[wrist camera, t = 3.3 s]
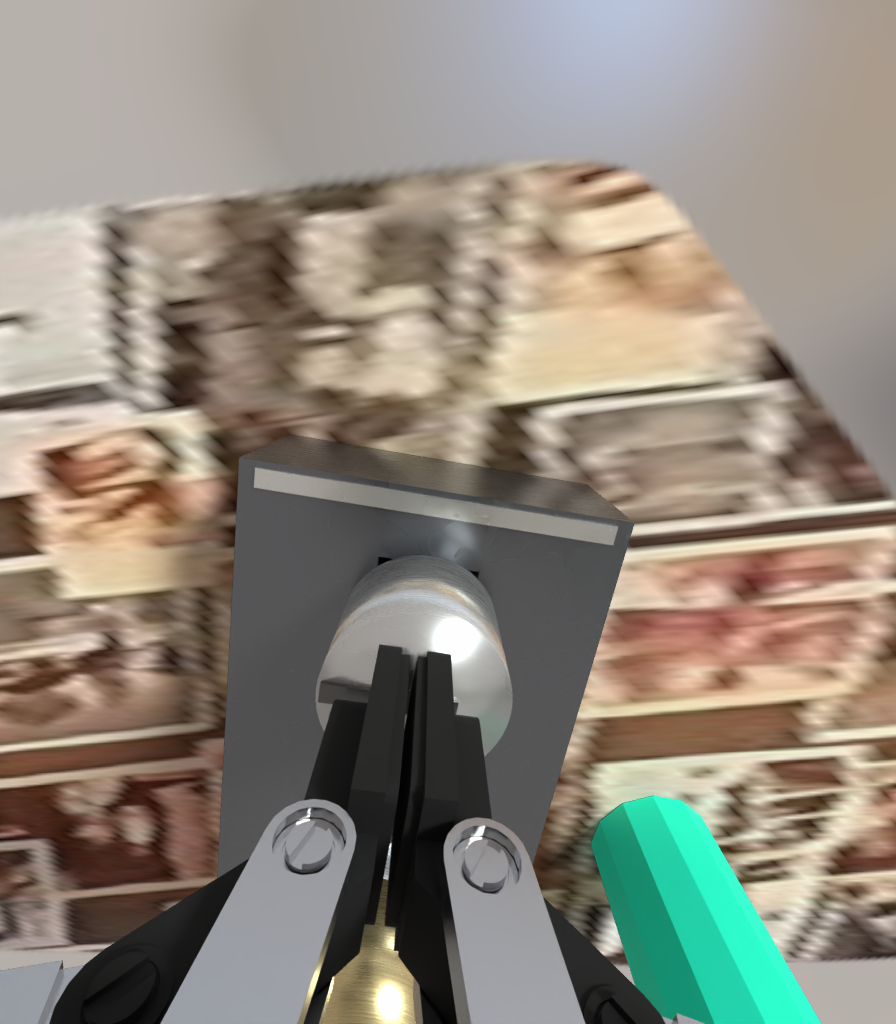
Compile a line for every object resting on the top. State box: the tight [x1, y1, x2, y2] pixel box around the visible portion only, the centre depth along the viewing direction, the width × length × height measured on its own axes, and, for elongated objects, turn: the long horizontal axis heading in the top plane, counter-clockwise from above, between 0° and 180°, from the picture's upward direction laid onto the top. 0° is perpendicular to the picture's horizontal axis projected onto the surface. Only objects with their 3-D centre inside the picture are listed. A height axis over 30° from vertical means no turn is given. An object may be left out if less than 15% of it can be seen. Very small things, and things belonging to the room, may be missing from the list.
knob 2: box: [322, 829, 415, 1024], centre depth 16 cm, size 5×5×8 cm
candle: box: [591, 796, 821, 1024], centre depth 20 cm, size 6×6×12 cm
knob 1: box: [315, 555, 513, 756], centre depth 15 cm, size 5×5×8 cm
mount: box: [217, 434, 634, 878], centre depth 19 cm, size 12×18×5 cm, turn 170°
